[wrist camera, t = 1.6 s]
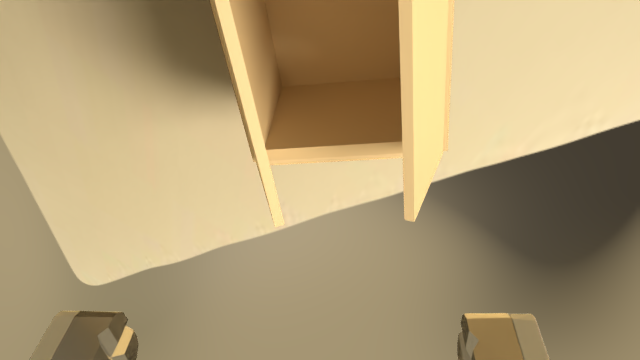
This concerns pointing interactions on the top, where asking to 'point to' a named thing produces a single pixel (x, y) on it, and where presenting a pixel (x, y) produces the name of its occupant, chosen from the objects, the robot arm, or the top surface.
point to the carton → (325, 77)
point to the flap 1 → (247, 105)
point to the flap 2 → (421, 94)
